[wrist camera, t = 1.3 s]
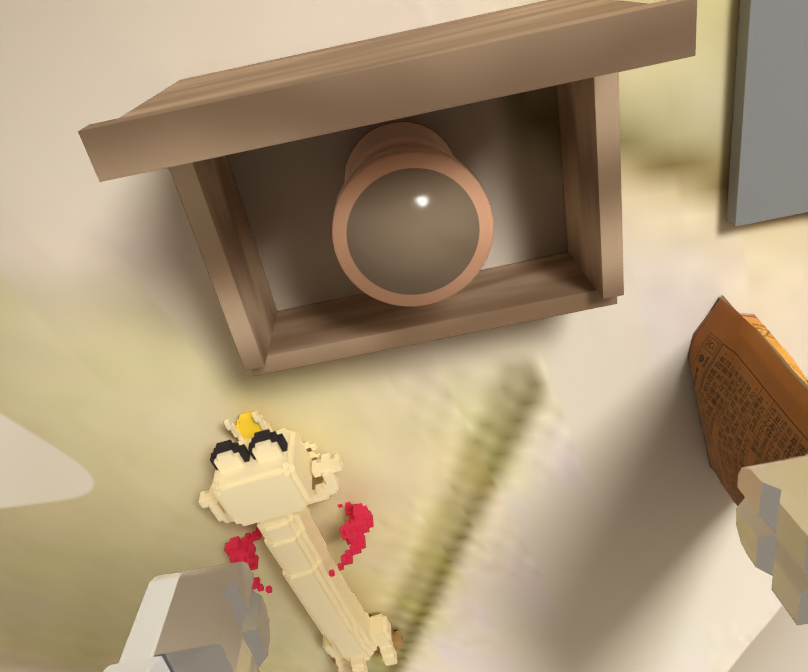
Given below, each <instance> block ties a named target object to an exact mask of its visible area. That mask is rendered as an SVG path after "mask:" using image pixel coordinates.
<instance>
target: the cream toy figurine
mask: <svg viewBox="0 0 808 672" xmlns="http://www.w3.org/2000/svg"><path fill="white" fill-rule="evenodd" d="M224 425H225V426H226V428H227V430H228V431H229V430H231V432H232V434H233V435H234V437H238V439H239V441H238V442H234V443H232V441H231V440H227V441H224V442H220V443H217V444H216V448H214V451H213V453H211V458H210V461H211V463H212V464H213V466H214V467H215V473H214V478H213V483H212V485H211V486H210V489H209V490H205V491H201V493H200V498H199V502H198V503H199V504H200V505H201V507H202V508H207V507H209V508H210V509H211V511H212V512H213V514H214V515H215V517H216V518H217V519H218V521H219V522H220V521H224V522H225V523H229V522H234V521H235V523H236V524H242V525H243V526H247V525H250V524H254V523H257V527H256V531H253V532H252V535H251V534H250V533H246V535H245V537H243V538H241V539H240V538H239V536H237V537H234V538H230V542H228V543H225V549H224V551H225V552H226V554H227V555H228V556H230V558H229V560H230V562H231V563H236V562H245V563H248V566H249V568H250V570H255V569H258V560H259V557H258V555H255V551H256V547H255V545H254V544H253V541H256V540H260V539H261V534H262V535H263V536H264V538H265V539H264V542H265V544H266V545H267V547H268V548H269V550H270V551H271V553H272V554H273V556H274V558H275V559H276V561H277V562H278V564H279V565H280V567H281V568H282V574H283V576H284V577H285V579H286V580H287V582H288V583H289V585H290V586H291V588H292V589H293V591H294V592H295V594H296V595H297V597H298V599H299V600H300V602H301V603H302V605H303V606H304V608H305V609H306V611H307V612H308V614H309V615H310V617H311V618H312V620H313V621H314V623H315V624H316V626H317V627H318V629H319V630H320V632H321V633H322V635H323V648H324V649H325V651H326V652H327V654H328V655H329V654H330V656H331V659H332V660H333V662H334V663H335V664H336V665H337V666H338V671H339V672H368V669H367V665H366V661H367V660H370V658H371V655H373V653H374V651H376V650H377V652H378V653H381V654H382V656H383V661H384V663H385V665H386V666H389V665H393V664H397V652H396V648H400V647H403V636H402V634H401V632H400V630H398V631H393V629H392V627H391V624H390V622H389V621H388V619H387V617H386V616H383V614H382V613H381V614H377V615H373V616H371V617H369V615H368V613H367V612H366V611H364V610H363V608H362V606H361V604H360V603H359V601H358V599H357V597H356V596H355V594H354V592H353V593H352V592H351V590H350V589H349V587H348V585H347V583H346V582H345V580H344V578H343V576H342V575H341V573H340V570H344V565H348V564H352V563H353V555H356V554H359V553H362V552H361V549H364V548H366V541H365V535H364V533H366V532H369V528H371V527H374V526H373V515H372V513H371V511H369V510H368V508H367V506H363V505H362V503H360V504H353V505H351V503H350V502H348V503H346V514H347V516H349V515H352V516H349V521H347V522H345V525H344V526H342V527H340V531H341V533H342V538H343V540H346V542H347V544H348V545H349V544H351V546H350V550H346V551H345V554H343V555H342V556H341V561H342V563H339V564H338V568H337V566H336V564H335V562H334V561H333V559H332V557H331V555H330V554H329V552H328V550H327V545H326V543H325V541H324V539H323V537H322V536H321V534H320V532H319V530H318V529H317V527H316V525H315V523H314V522H313V520H312V518H311V512H310V511H309V509H308V507H307V505H309V504H312V503H316V502H320V501H323V500H327V499H329V495H333V494H336V493H337V490H338V489H340V482H339V480H338V478H337V476H336V474H335V472H338V471H342V459H341V456H340V454H335V455H332V456H331V454H330V453H327V454H323V455H321V454H320V453H317V454H315V452H314V450H317V446H316V444H315V443H314V444H310V442H309V441H308V442H304V443H303V442H302V440H301V438H300V436H299V434H298V432H297V433H296V432H295V433H294V431H289V430H288V429H285V428H284V429H280V430H277V431H273V430H272V429H271V427H270V425H269V423H268V422H265V420H264V418H263V416H262V415H261V414H260V413H258V412H257V411H255V412H254V411H252V412H248V413H245V414H241V415H240V416H239V419H238V420H237V424H236V425H235V424H234V423H231V421H230V420H229V419H227V420H224ZM308 448H311V449H312V452H308V451H307V450H306V449H308ZM315 457H316V459H317V460H314V461H312V459H311V458H315ZM312 473H313V475H314V477H315V478H316V477H320V476H323V478H324V479H323V483H321V484H317V485H316V486H315V489H312ZM338 507H339V508H341V507H343V506H342V504H339V505H338ZM252 574H253V573H252ZM256 588H257V589H258V591H259V592H260V591H263V590H264V586H263V584H260V578H259V577H256V578H254V580H253V585H252V589H256ZM266 592H267V593H271V592H272V587H271V586H267V587H266Z"/></svg>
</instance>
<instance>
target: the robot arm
mask: <svg viewBox="0 0 808 672" xmlns="http://www.w3.org/2000/svg"><path fill="white" fill-rule="evenodd" d="M737 487H738V489H739V490H740V491H741V492H742V494H743V495H744V496H745V498H744V500H743V501H742V502H741V503H740V504H739V506H738V507H737V508H736V526H737V529H738V533H739V537H740V541H741V543H742V545H743V547H744V549H745V551H746V553H747V555H748V557H749V558H750V559H751V561H752V562H753V564H754V565H755V567H757V568H759V569H760V570H762V571H764V572H766V573H768V574H770V575H772V576H773V578H772V591H773V592H774V594H775V595H776V596H777V598H778V599H779V601H780V602H781V603H782V605H783V606H784V608H785V609H786V610H787V611H788V613H789V614H790V616H791V617H792V619H793V620H794V622H795V623H796V624H797V625H802V624H808V454H807V455H805V456H798V457H793V458H788V459H783V460H778V461H772V462H767V463H762V464H757V465H752V466H747V467H742V468H741V470H740V472H739V474H738V485H737ZM253 580H254V576H253V574H252V572H251V570H250V568H249V566H248V563H245V562H236V563H229V564H223V565H217V566H211V567H205V568H199V569H192V570H186V571H184V572H179V573H172V574H166V575H159V576H155V577H154V578H153V579H152V580H151V581H150V583H149V584H148V587H147V589H146V592H145V594H144V597H143V600H142V602H141V605H140V608H139V610H138V613H137V615H136V618H135V621H134V623H133V626H132V628H131V631H130V634H129V636H128V639H127V641H126V644H125V647H124V649H123V652H122V655H121V657H120V660H119V662H118V664H113V665H109V666H108V667H107V668H106V669H105V670H104V671H103V672H260V671H259V669H258V667H259V666H260V665H261V663H262V662H263V661H264V660H265V658H266V657H267V656H268V650H269V642H270V630H269V618H268V613H267V609H266V605H265V603H264V600H263V598H262V596H261V595H259V594H257V593H256V592H254V591H252V585H253Z"/></svg>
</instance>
